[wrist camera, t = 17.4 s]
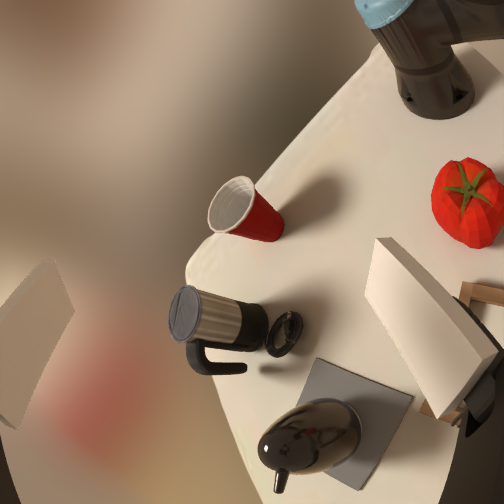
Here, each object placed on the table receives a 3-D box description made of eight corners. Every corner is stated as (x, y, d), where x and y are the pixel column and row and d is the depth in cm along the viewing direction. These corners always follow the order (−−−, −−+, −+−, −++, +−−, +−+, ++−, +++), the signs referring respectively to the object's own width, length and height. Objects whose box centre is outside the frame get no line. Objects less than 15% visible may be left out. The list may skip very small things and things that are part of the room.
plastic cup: (303, 233, 49) (256, 205, 41) (260, 265, 54) (210, 245, 46) (286, 192, 55) (243, 162, 47) (249, 223, 60) (205, 200, 52)
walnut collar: (463, 285, 27) (462, 281, 25) (563, 306, 15) (569, 303, 13) (422, 408, 25) (419, 412, 24) (521, 436, 13) (524, 442, 12)
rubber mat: (317, 357, 39) (315, 357, 39) (412, 396, 27) (412, 397, 27) (280, 442, 37) (278, 442, 37) (359, 490, 25) (358, 491, 25)
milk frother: (228, 318, 56) (164, 304, 46) (284, 271, 49) (219, 244, 39) (248, 383, 46) (177, 382, 37) (317, 342, 40) (247, 333, 30)
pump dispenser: (310, 459, 32) (235, 489, 22) (305, 398, 37) (228, 408, 27) (374, 457, 26) (313, 503, 16) (367, 388, 31) (306, 405, 21)
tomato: (431, 193, 33) (416, 159, 28) (495, 178, 26) (493, 139, 20) (442, 264, 30) (433, 241, 24) (514, 250, 22) (523, 222, 17)
